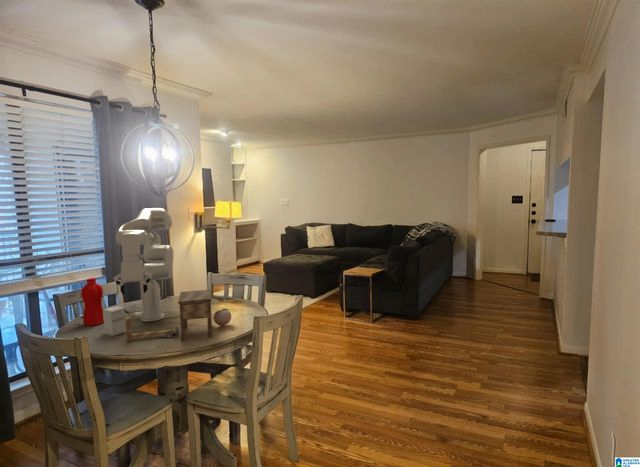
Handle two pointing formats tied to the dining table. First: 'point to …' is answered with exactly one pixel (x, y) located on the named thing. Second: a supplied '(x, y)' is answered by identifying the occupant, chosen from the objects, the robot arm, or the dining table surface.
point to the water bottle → (92, 303)
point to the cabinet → (195, 309)
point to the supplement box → (114, 320)
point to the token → (169, 335)
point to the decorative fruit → (222, 317)
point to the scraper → (130, 332)
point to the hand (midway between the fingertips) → (134, 292)
